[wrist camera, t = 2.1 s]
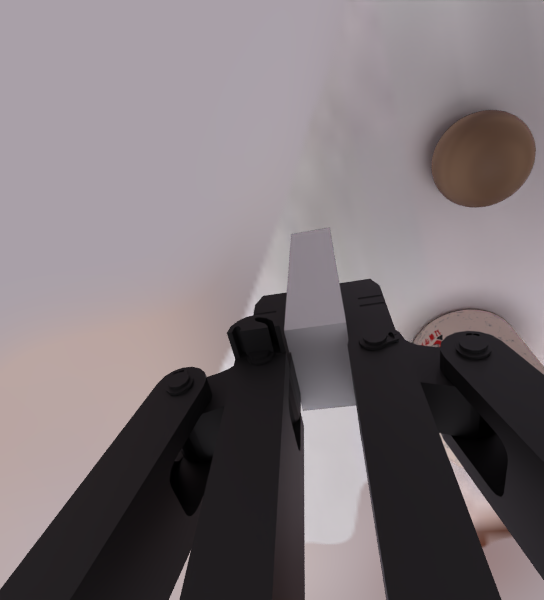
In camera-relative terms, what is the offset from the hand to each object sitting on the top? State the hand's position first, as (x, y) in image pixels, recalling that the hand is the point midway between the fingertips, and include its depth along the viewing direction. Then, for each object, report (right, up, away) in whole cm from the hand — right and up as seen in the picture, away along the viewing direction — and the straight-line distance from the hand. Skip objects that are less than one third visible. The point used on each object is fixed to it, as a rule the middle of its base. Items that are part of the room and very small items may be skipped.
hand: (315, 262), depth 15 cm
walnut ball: (+11, +7, +8) cm, 15 cm away
